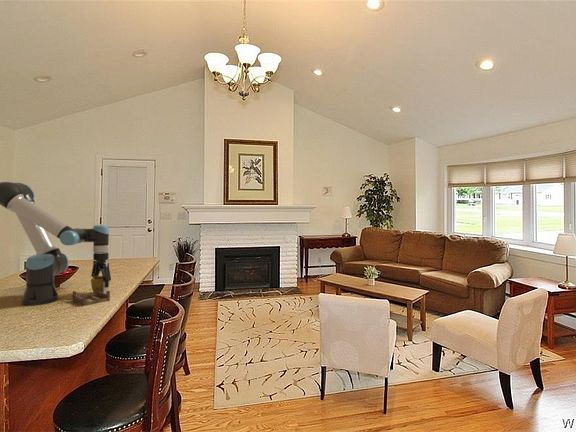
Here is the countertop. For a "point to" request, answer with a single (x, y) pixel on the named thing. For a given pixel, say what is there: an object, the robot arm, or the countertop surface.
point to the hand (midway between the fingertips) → (100, 291)
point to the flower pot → (97, 283)
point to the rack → (92, 297)
